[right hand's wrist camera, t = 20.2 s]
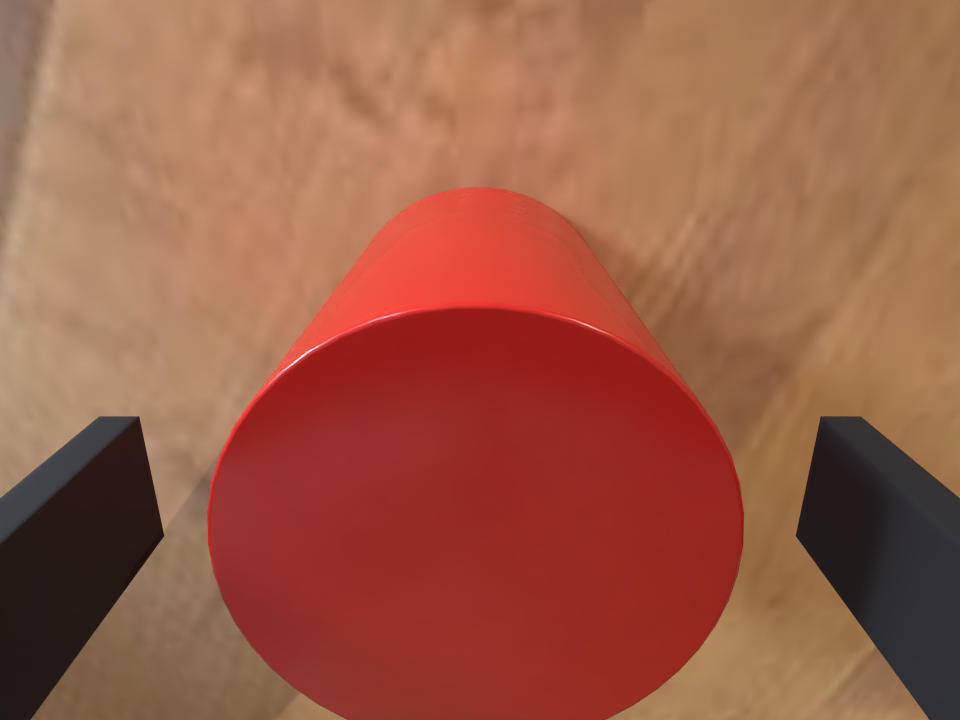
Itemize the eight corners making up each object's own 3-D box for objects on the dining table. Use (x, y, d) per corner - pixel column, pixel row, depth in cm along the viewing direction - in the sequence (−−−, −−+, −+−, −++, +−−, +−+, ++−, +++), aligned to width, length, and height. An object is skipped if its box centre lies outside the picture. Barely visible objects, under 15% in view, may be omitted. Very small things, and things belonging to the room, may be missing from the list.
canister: (424, 468, 23) (374, 802, 12) (300, 261, 21) (91, 452, 10) (645, 373, 22) (810, 653, 11) (543, 137, 19) (627, 194, 8)
